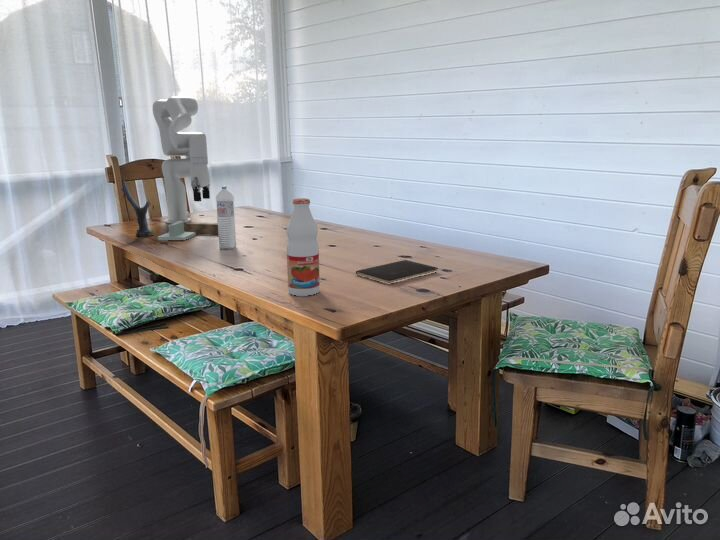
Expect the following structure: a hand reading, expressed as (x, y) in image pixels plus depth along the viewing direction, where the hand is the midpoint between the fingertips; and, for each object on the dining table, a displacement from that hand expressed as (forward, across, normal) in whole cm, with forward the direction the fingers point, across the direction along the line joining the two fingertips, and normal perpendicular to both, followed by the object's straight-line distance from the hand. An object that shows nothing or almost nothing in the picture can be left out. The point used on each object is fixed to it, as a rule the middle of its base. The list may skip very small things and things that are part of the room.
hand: (202, 199), depth 261 cm
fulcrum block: (+16, +11, -8) cm, 21 cm away
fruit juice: (+17, +86, +67) cm, 110 cm away
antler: (+16, +9, -26) cm, 32 cm away
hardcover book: (+18, +61, +93) cm, 112 cm away
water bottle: (+16, +29, +22) cm, 39 cm away
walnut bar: (+16, 0, 0) cm, 16 cm away
